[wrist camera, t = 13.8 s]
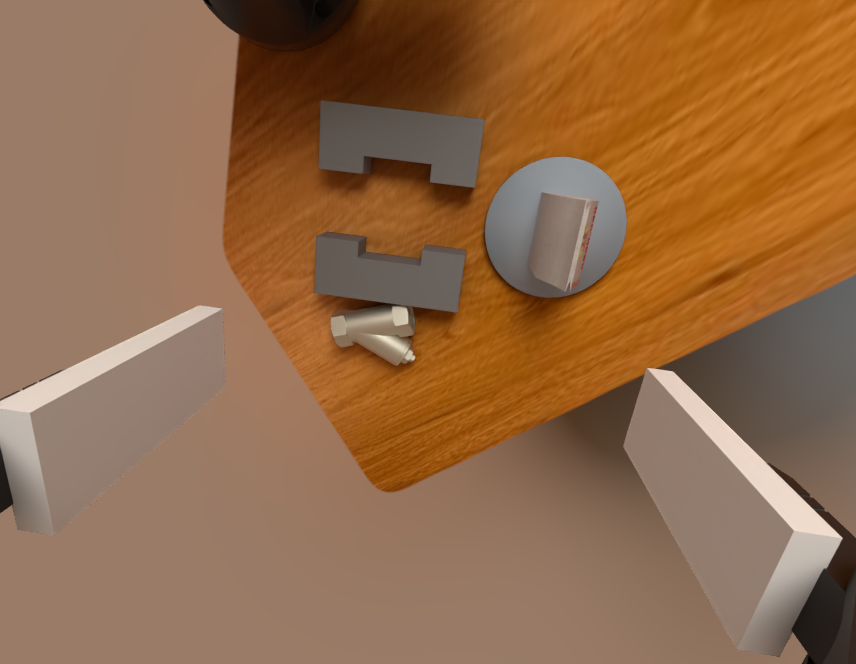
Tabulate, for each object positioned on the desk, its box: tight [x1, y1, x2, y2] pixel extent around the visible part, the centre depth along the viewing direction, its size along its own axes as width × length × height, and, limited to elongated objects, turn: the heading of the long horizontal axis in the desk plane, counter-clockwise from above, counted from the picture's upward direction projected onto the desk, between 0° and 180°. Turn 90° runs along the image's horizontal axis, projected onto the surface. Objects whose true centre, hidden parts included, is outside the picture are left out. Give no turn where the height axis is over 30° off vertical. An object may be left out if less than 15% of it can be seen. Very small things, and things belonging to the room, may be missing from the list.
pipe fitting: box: [331, 304, 416, 366], centre depth 48 cm, size 8×4×7 cm
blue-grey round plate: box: [485, 157, 627, 298], centre depth 43 cm, size 13×13×1 cm
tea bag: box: [527, 192, 599, 292], centre depth 38 cm, size 4×7×10 cm, turn 173°
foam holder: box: [315, 100, 485, 312], centre depth 43 cm, size 17×14×4 cm
